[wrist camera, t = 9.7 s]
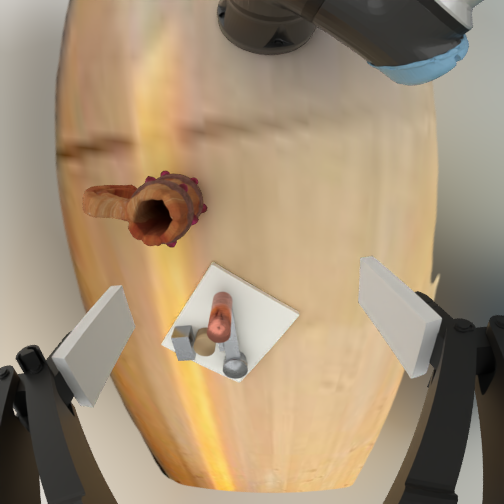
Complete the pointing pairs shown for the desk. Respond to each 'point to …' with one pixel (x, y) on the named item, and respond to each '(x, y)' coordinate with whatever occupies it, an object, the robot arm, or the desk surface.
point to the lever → (226, 335)
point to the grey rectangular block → (184, 342)
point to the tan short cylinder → (203, 343)
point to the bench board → (235, 317)
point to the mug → (150, 207)
